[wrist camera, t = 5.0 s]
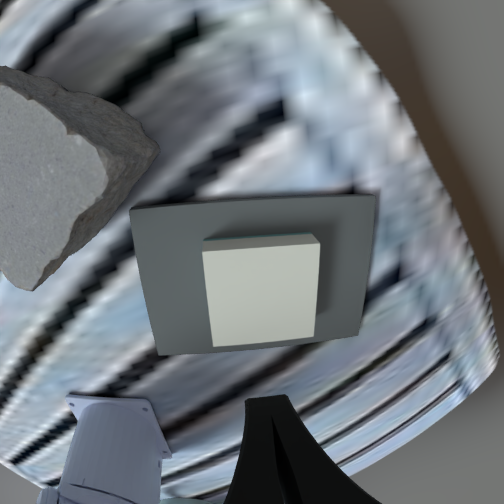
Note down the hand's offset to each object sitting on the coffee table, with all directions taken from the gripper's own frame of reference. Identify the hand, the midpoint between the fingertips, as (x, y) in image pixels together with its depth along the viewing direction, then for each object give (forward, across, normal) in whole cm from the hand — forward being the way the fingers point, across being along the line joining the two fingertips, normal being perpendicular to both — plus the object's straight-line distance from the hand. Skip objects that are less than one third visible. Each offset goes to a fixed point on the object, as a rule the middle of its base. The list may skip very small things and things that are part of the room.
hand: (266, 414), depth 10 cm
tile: (+9, +2, 0) cm, 9 cm away
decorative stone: (+10, +11, -9) cm, 18 cm away
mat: (+10, -1, 0) cm, 10 cm away
